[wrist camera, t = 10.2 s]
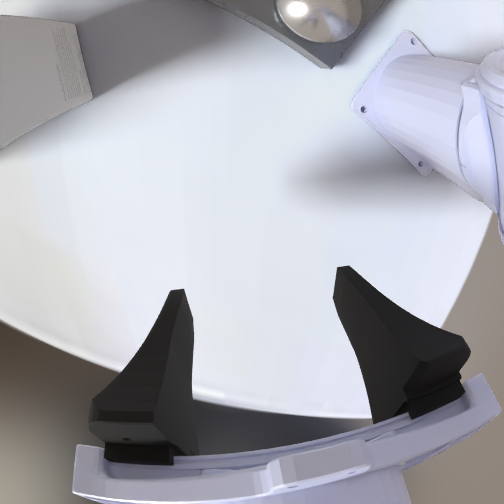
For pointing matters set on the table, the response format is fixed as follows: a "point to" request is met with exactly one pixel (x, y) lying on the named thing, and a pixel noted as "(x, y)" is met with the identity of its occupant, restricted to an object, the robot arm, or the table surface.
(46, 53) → the skincare box
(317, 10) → the grey base with frame
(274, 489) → the robot arm
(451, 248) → the table surface
